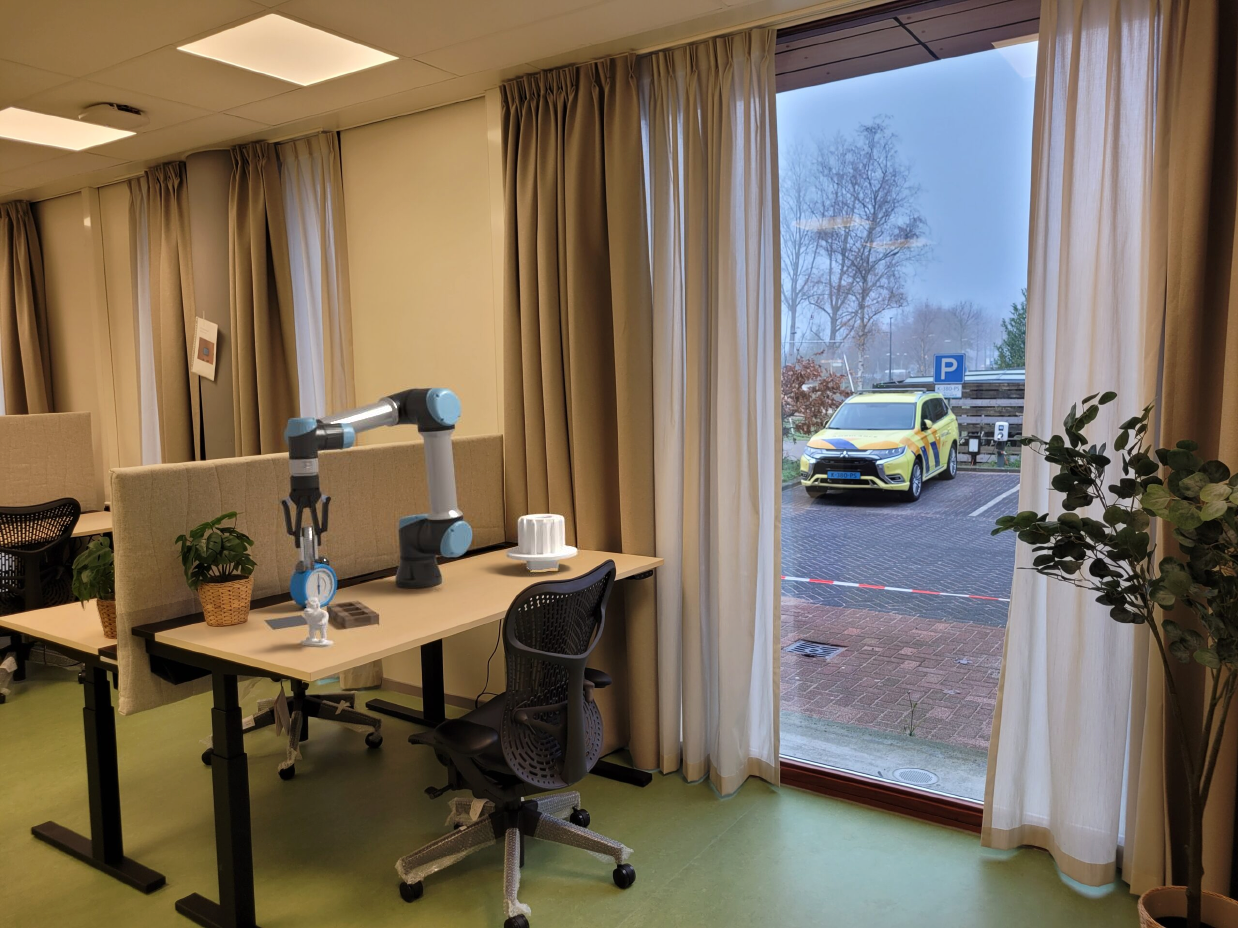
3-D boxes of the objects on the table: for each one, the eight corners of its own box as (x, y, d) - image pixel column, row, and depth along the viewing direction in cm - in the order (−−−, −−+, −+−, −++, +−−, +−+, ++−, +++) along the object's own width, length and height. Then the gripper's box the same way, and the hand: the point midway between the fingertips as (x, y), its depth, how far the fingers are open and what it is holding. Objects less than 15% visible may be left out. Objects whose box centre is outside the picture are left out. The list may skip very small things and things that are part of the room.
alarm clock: (304, 613, 263) (301, 562, 262) (289, 611, 266) (287, 560, 265) (338, 603, 274) (336, 554, 273) (324, 601, 278) (322, 553, 276)
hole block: (326, 615, 260) (326, 604, 260) (358, 610, 265) (357, 600, 265) (346, 630, 244) (345, 619, 243) (379, 624, 248) (378, 614, 248)
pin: (302, 569, 250) (300, 526, 249) (313, 568, 252) (311, 525, 251) (304, 571, 248) (302, 527, 247) (316, 569, 249) (313, 526, 248)
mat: (264, 621, 254) (264, 620, 254) (301, 616, 260) (301, 614, 260) (273, 630, 244) (273, 629, 244) (311, 625, 249) (311, 623, 249)
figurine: (292, 646, 229) (290, 599, 228) (310, 639, 235) (308, 593, 234) (320, 649, 226) (318, 602, 225) (338, 642, 232) (336, 596, 231)
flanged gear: (511, 579, 306) (509, 523, 304) (503, 565, 330) (501, 513, 329) (583, 574, 312) (582, 519, 310) (570, 561, 336) (569, 510, 334)
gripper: (276, 477, 240) (280, 564, 242) (337, 473, 248) (341, 557, 250) (271, 475, 247) (275, 560, 249) (331, 471, 255) (335, 553, 257)
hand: (308, 558), depth 250 cm, fingers closed on pin, 3 cm apart
